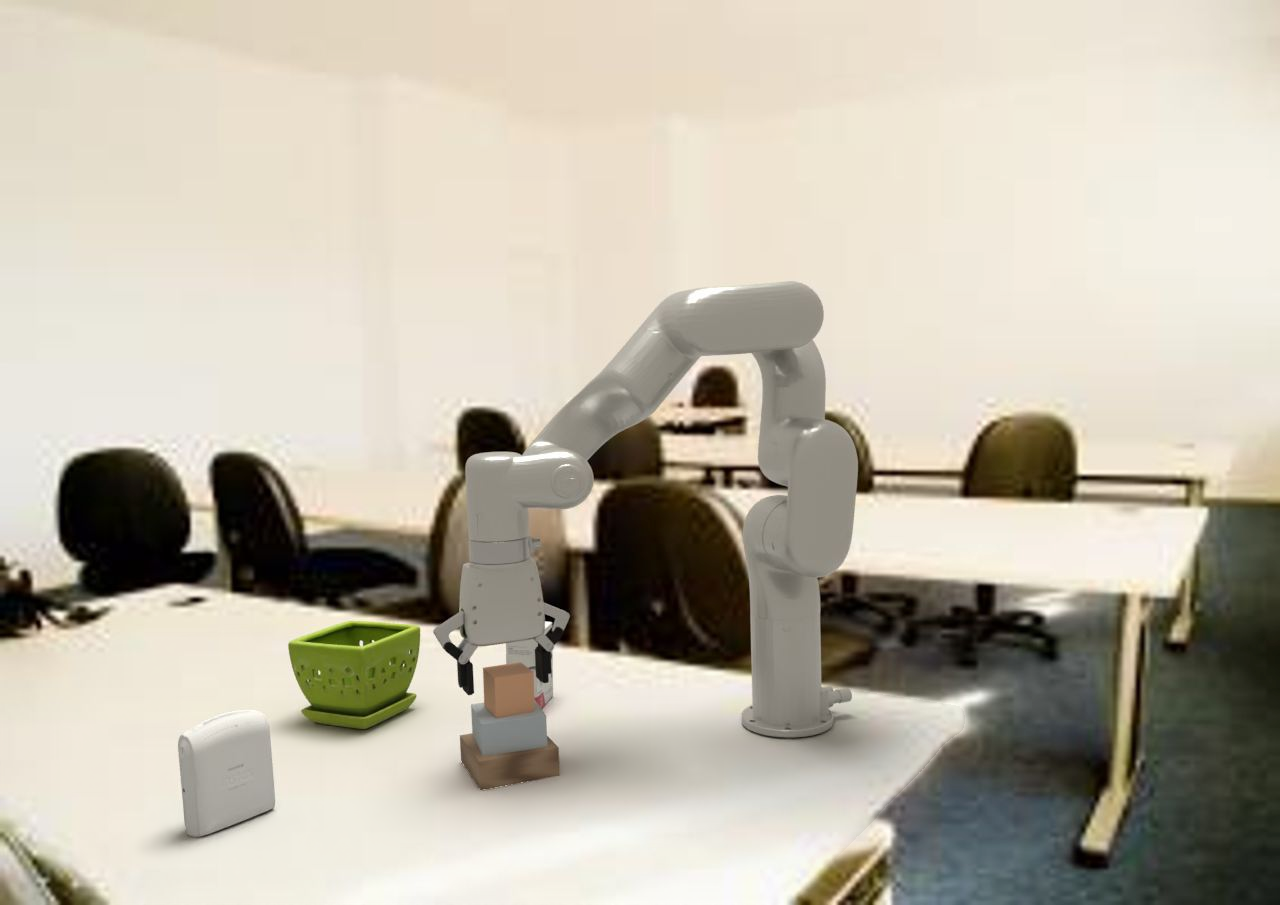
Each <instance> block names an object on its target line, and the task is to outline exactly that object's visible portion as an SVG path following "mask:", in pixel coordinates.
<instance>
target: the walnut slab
mask: <svg viewBox="0 0 1280 905" xmlns="http://www.w3.org/2000/svg"><path fill="white" fill-rule="evenodd" d="M459 743H460V744H459V746H460V747H459V748H460V762H461V761H462V763H463V764H464V766H465V767H464V766H463V767H464V769H465V768H466V769H467V770H468V772H469V773H470V774H469V773H468V772H467V773H468V774H469V776H470V775H471V776H470V777H471V779H472V778H473V779H474V780H473V779H472V780H473V782H474V781H475V782H474V783H475V784H477V785H476V786H477V788H478V787H479V788H480V789H479V788H478V789H479V790H480V791H481V790H482V791H484V790H483V789H487V790H491V789H490V788H492V789H496V788H495V787H497V788H501V787H500V786H502V787H506V786H505V785H508V786H511V784H513V785H517V783H518V784H522V783H521V782H523V783H528V782H527V781H529V782H532V781H533V780H534V781H538V780H543V779H548V778H549V779H550V778H555V777H559V776H561V772H560V770H561V768H560V749H559V748H560V747H559V746H558V745H557V744H556V743H555V742H554V741H553V740H552V739H551V738H550V737H549V735H547V747H543V748H536V749H529V750H523V751H516V752H509V753H502V754H496V755H489V756H483V755H482V753H481V751H480V749H479V747H478V745H477V743H476V741H475V739H474V737H473V735H472V732H470V733H466V734H465V733H464V734H461V735H459ZM462 763H461V764H462ZM463 764H462V765H463ZM466 769H465V770H466ZM467 770H466V771H467ZM534 781H533V782H534Z"/></svg>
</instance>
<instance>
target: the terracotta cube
mask: <svg viewBox="0 0 1280 905" xmlns="http://www.w3.org/2000/svg"><path fill="white" fill-rule="evenodd" d="M482 678H483V682H482V683H483V699H484V700H483V703H484V706H485V707H486V708H487V709H488V710H489V711H490V712H491V713H492V714H493V715H494V716H495V717H496V718H499V717H505V716H511V715H516V714H522V713H528V712H534V711H535V703H534V672H533V671H531V670H530V669H529V668H527V667H526V666H525V665H524V664H522V663H521V662H518V663H511V664H506V663H504V664H499V665H493V666H491V665H490V666H485V667H482Z"/></svg>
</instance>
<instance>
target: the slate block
mask: <svg viewBox="0 0 1280 905" xmlns="http://www.w3.org/2000/svg"><path fill="white" fill-rule="evenodd" d="M534 703H535V711H534V712H528V713H522V714H516V715H511V716H505V717H499V718H496V717H495V716H494V715H493V714H492V713H491V712H490V711H489V710H488V709H487V708H486V707H485V706H484V702H479V703H471V704H470V708H471V709H470V710H471V711H470V712H471V713H470V714H471V729H472V730H471V733H472V735H473V737H474V739H475V741H476V743H477V745H478V747H479V749H480V751H481V753H482V755H483V756H489V755H496V754H502V753H509V752H516V751H523V750H529V749H536V748H543V747H547V736H548V731H547V730H548V729H547V727H548V725H547V715H546V713H545V711H544V710H543V709H541V708H540V706H539V705H538V703H537V702H536V701H535V699H534Z"/></svg>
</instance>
